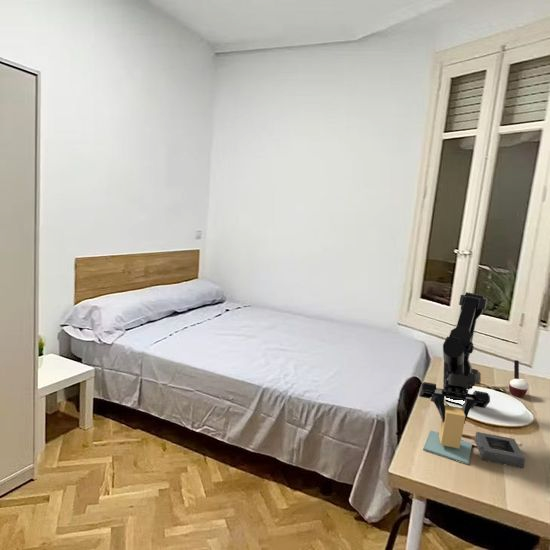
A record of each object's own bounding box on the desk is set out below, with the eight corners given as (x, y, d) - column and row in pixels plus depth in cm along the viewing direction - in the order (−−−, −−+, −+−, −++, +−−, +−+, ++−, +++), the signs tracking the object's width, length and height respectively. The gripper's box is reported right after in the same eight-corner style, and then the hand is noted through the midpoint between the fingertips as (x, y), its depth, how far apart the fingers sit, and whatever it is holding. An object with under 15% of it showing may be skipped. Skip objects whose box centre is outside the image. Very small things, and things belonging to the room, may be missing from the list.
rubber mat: (423, 450, 128) (423, 448, 128) (430, 431, 138) (430, 430, 138) (468, 464, 123) (468, 463, 123) (471, 444, 133) (472, 443, 133)
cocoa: (526, 402, 168) (534, 372, 165) (507, 397, 170) (515, 368, 167) (524, 391, 176) (531, 363, 173) (506, 387, 179) (513, 359, 176)
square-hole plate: (482, 460, 126) (484, 450, 125) (474, 440, 136) (476, 431, 135) (523, 468, 123) (525, 458, 123) (512, 447, 134) (514, 438, 133)
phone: (458, 377, 182) (459, 365, 196) (457, 380, 183) (458, 368, 196) (479, 382, 179) (478, 370, 193) (478, 385, 180) (478, 372, 193)
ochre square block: (441, 444, 128) (446, 412, 126) (438, 436, 133) (444, 404, 131) (459, 448, 127) (465, 416, 125) (456, 439, 132) (462, 408, 130)
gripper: (426, 356, 132) (424, 407, 123) (494, 367, 128) (497, 421, 119) (420, 371, 141) (417, 420, 132) (483, 381, 137) (485, 433, 128)
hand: (453, 423), depth 128 cm, fingers closed on ochre square block, 5 cm apart
